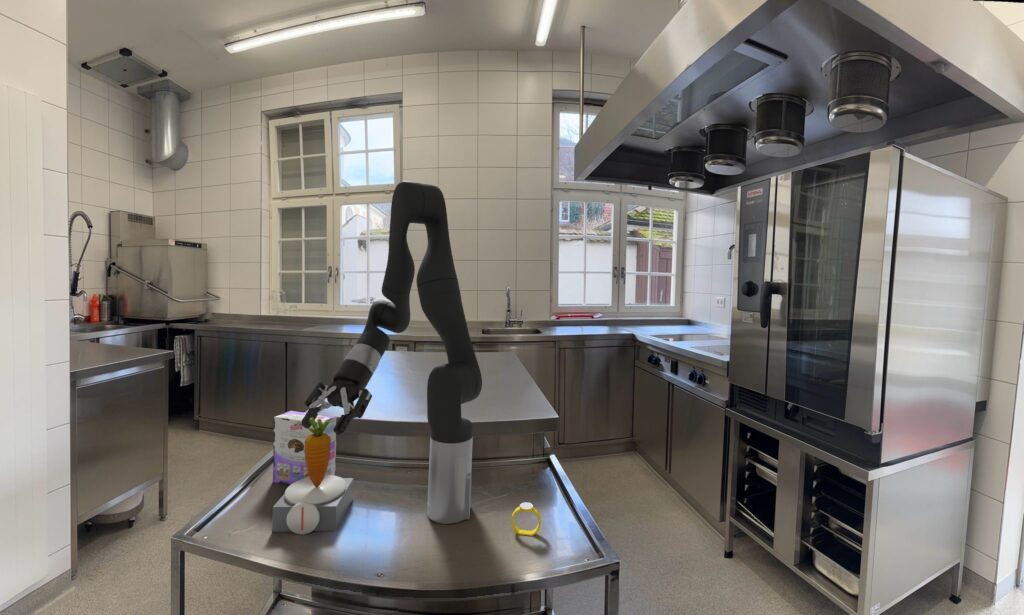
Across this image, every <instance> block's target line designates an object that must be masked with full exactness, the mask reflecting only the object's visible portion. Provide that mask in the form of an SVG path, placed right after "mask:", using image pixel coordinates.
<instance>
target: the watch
mask: <svg viewBox="0 0 1024 615" xmlns="http://www.w3.org/2000/svg"><path fill="white" fill-rule="evenodd" d="M520 512H523V513H533V514H534V515H536V516H535V517H537V519H538V523H537V525H536V527H535V528H534V529H532V530H528V529H527V530H526V529H519V527H517V525H516V524H515V523H516V522H515V516H516V515H517V513H520ZM541 519H542V518H541V514H540V512H539V511H538V509H536V507H534V505H533V504H532V503H531V502H522V503H520V504H519V506H517V507H516V508H515V509H514V511H513V512H512V515H511V520H510V524H511V527H512V529H513V532H515V533H516V534H517V535H518V536H519V535H521V536H528V537H529V536H530V537H534V535H536V534H537V533H538V532H539V531H540V529H541V523H542V520H541Z"/></svg>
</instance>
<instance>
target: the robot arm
mask: <svg viewBox="0 0 1024 615" xmlns="http://www.w3.org/2000/svg"><path fill="white" fill-rule="evenodd" d="M392 193H393V194H392V200H391V205H390V216H389V217H390V219H389V232H388V234H389V236H388V254H387V262H386V268H385V272H384V277H383V280H382V285H381V294H382V295H383V297H384V298H386V299H387V300H385V299H378V300H376V301H374V302H373V303H372V304H371V306H370V308H369V310H368V317H367V320H366V324H365V326H364V329H363V331H362V333H361V335H360V336H359V338H358V340H356V342H355V344H354V346H353V347H352V348H351V349H350V350H349V352H348V353H347V355H346V356H345V358H344V359H343V360H342V362H341V364H340V365H339V367H338V368H337V370H336V371H335V373H334V375H333V381H332V382H331V383H330V384H329V385H327V384H324V382H322V381H320V382H318V383H317V384H316V386H315V387H314V389H313V390H312V391H311V393H310V395H308V397H307V398H306V400H305V401H304V405H305V407H307V408H308V411H306V412H305V413H306V415H305V416H304V418H303V419H302V423H301V425H302V426H303V427H304V428H307V429H308V428H310V427H311V423H310V422H309V420H310V418H314V420H315V419H316V417H317V416H318V414H319V413H321V412H322V411H324V410H326V409H329V408H331V407H339V408H341V409H342V408H343V414H341V415H340V417H339V419H338V420H337V424H336V426H335V427H334V429H333V431H334V432H335V433H336V436H337V435H338V436H341V435H342V434H343V433H345V431H346V430H347V428H348V426H349V425H350V423H351V421H352V420H354V419H356V418H357V419H362V418H363V416H364V414H365V412H366V410H367V408H368V406H369V404H370V402H371V401H372V398H373V394H372V393H371V392H370V391H369V389H368V388H367V386H368V384H369V382H371V379H372V377H373V375H374V374H375V372H376V370H377V369H378V366H379V364H380V363H381V362H380V361H381V360H382V358H383V356H384V354H385V352H386V350H387V349H388V347H389V345H390V340H391V339H390V337H389V335H388V334H387V333H386V332H384V331H383V330H387V331H390V332H392V333H395V334H400V333H403V332H405V331H406V330H407V328H408V327H409V325H410V323H411V306H410V302H411V300H410V299H411V298H410V296H411V290H412V286H413V282H414V278H415V275H416V281H415V282H416V288H417V293H418V298H419V303H420V307H421V310H422V312H423V313H424V315H425V317H426V319H427V320H428V321H429V323H430V325H431V326H432V327H433V328H434V330H435V331H436V332H437V334H438V335H439V337H440V339H441V341H442V342H443V343H442V344H443V345H444V349H445V353H446V357H447V362H448V363H442V364H439V365H436V366H435V367H434V368H433V369H432V370H431V371H430V373H429V375H428V379H427V385H426V408H427V410H426V411H427V412H426V415H427V416H426V418H427V423H428V426H429V430H430V432H429V433H430V434H429V435H430V438H429V456H428V457H429V460H428V462H429V463H428V481H427V482H428V487H427V488H428V489H427V503H426V505H427V510H426V511H427V516H428V518H429V520H431V521H432V522H435V523H437V524H444V525H448V524H449V525H451V524H457V523H459V522H463V521H466V520H470V518H471V516H470V515H471V494H472V492H471V491H472V464H473V463H472V462H473V444H474V442H473V440H474V424H473V422H472V421H471V420H470V419H468V418H465V417H462V405H463V404H466V403H469V402H471V401H474V400H475V399H477V398H478V397H479V396H480V395H481V392H482V388H483V378H482V373H481V372H482V371H481V368H480V365H479V363H478V359H477V355H476V352H475V349H474V346H473V344H472V340H471V336H470V332H469V328H468V324H467V319H466V315H465V311H464V307H463V306H464V305H463V302H462V295H461V294H462V293H461V289H460V284H459V280H458V276H457V275H458V274H457V272H456V268H455V263H454V258H453V252H452V246H451V241H450V240H451V239H450V232H449V221H448V213H447V205H446V199H445V197H444V193H443V192H442V190H441V188H440V187H439V186H437V185H434V184H429V183H425V182H419V181H411V180H402V181H400V182H399V183H397V184H396V186H395V188H394V190H393V192H392ZM410 224H418V225H419V224H421V225H424V227H425V230H426V235H427V236H426V237H427V238H426V239H427V248H426V251H425V253H424V256H423V258H422V261H421V263H420V266H419V267H418V270H417V274H415V272H416V268H415V267H416V266H415V262H414V259H413V255H412V253H411V251H410V250H411V249H410V247H409V243H408V236H407V235H408V230H409V226H410ZM380 328H381V329H380ZM382 329H383V330H382ZM326 400H327V401H326ZM355 401H356V403H355Z"/></svg>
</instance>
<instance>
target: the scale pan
mask: <svg viewBox="0 0 1024 615" xmlns="http://www.w3.org/2000/svg"><path fill="white" fill-rule="evenodd" d="M343 478H344V477H341V476H337V475H335V476H334V475H325V476H324V479H323V481H322V482H321V484H320V485H319V486H318V487H315V486H314V485H313V483H312V481H311V479H310V477H307V478H304V479H301V480H299V481H296V482H294V483H293V484H291V485H288V487H287V488H285V491H284V494H285V499H286V501H287V502H289V503H290V504H293V505H296V504H298V503H302V502H307V503H311V504H313V505H318V504H323V503H326V502H329V501H331V500H334V499H336V498H337V497H339V496H340V495H342V494H343V492H344V491H345V489H346V482H345V480H344V479H343Z"/></svg>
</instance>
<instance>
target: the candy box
mask: <svg viewBox="0 0 1024 615" xmlns="http://www.w3.org/2000/svg"><path fill="white" fill-rule="evenodd" d="M306 413H307V412H303V411H295V410H289V411H286V412H284V413H281V414H279V415H276V416H273V442H272V443H273V444H272V445H273V452H272V453H273V454H272V455H273V459H272V461H273V467H272V470H273V472H272V475H273V476H272V477H273V478H272V482H273V483H275V484H283V485H287V486H290V485H291V484H293V483H294V482H295V481H296V480H297V479H298V478H307V477H309V475H308V471H307V467H306V461H305V439H306V438H307V437H308V436H310V435H311V434H314V433H312V432H311V431H310V430H308V429H307V428H304V427H303V426H302V425H301V423H302V419H303V418H304V416H305V415H306ZM317 414H318V416H317V417H316V419H315V421H316V423H317V426H318V427H319V425H318V421H317V420H318V419H321V420H322V424H324V423H325V421H329V424H328V425H327V427H326V428H325V430H324V432H323V433H326V434H327V435H328V436H329V437H330V439H331V445H330V458H329V463H328V468H327V472H326V474H325V475H334V476H336V463H337V462H336V460H337V434H336V433H335V432H334V431H333V429H334V427H335V426H336V424H337V422H338V420H337V419H338V416H336V415H335V416H334V415H325V414H319V413H317ZM310 428H312V429H314V428H313V426H312V425H311V427H310Z"/></svg>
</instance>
